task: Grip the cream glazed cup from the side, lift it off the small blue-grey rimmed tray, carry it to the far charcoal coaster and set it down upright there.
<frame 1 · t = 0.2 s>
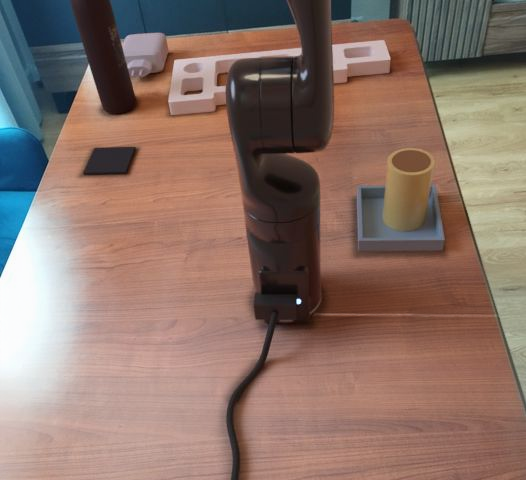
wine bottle: (120, 106, 121), on the table
cup: (403, 217, 90), point 1 cm above the table, touching tray
charger: (144, 71, 130), on the table
holder: (281, 83, 121), on the table
tray: (397, 224, 90), on the table
coaster: (110, 161, 108), on the table
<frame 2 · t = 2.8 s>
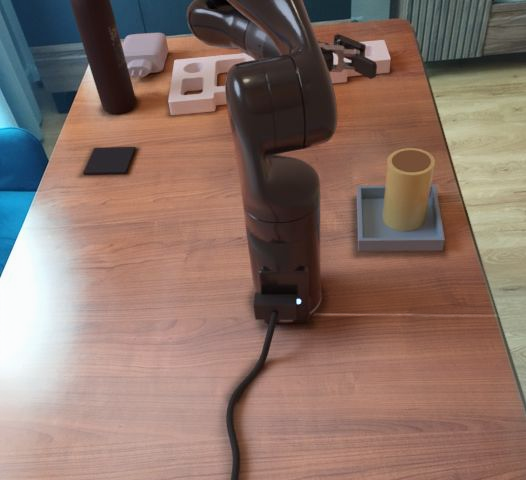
hand: (353, 83, 83), 18 cm above the table, tool horizontal, fingers open, 8 cm apart
nothing on the table moved.
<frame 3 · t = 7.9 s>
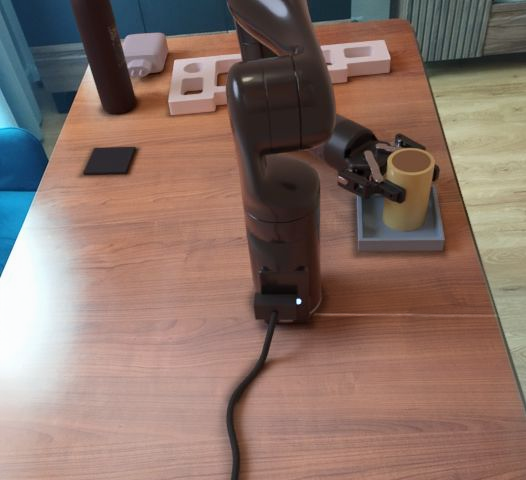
hand: (420, 186, 84), 8 cm above the table, tool horizontal, fingers closed on cup, 6 cm apart
cup: (403, 217, 90), point 1 cm above the table, touching gripper, tray
everything else where it was.
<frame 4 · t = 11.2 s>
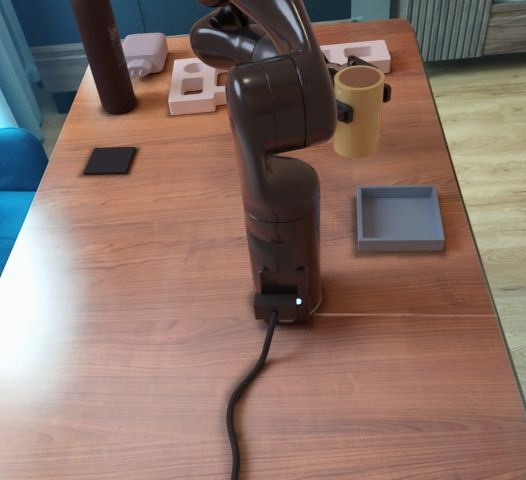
hand: (370, 105, 78), 18 cm above the table, tool horizontal, fingers closed on cup, 6 cm apart
cup: (356, 145, 85), point 12 cm above the table, touching gripper
everything else where it was.
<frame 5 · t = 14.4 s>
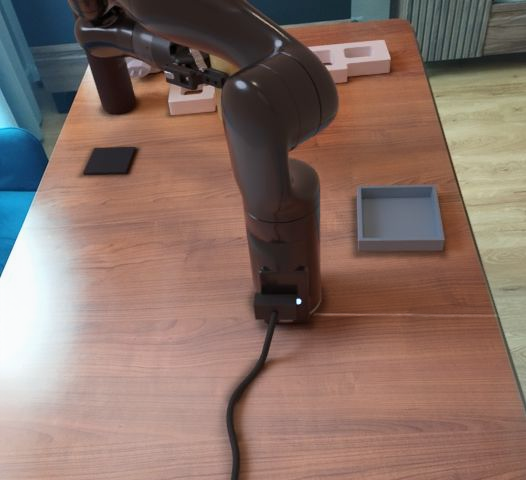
hand: (245, 71, 84), 20 cm above the table, tool horizontal, fingers closed on cup, 6 cm apart
cup: (239, 113, 90), point 13 cm above the table, touching gripper
everything else where it was.
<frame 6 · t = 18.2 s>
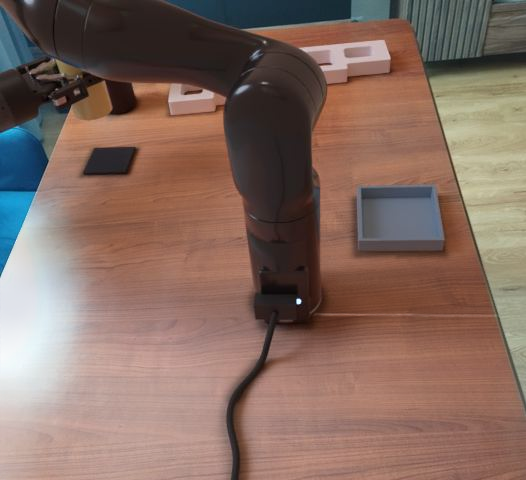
hand: (92, 65, 96), 17 cm above the table, tool horizontal, fingers closed on cup, 6 cm apart
cup: (93, 110, 100), point 10 cm above the table, touching gripper
everything else where it was.
when the fingers open (7 cm above the table, at t = 21.4 s): cup stays where it is, resting on coaster.
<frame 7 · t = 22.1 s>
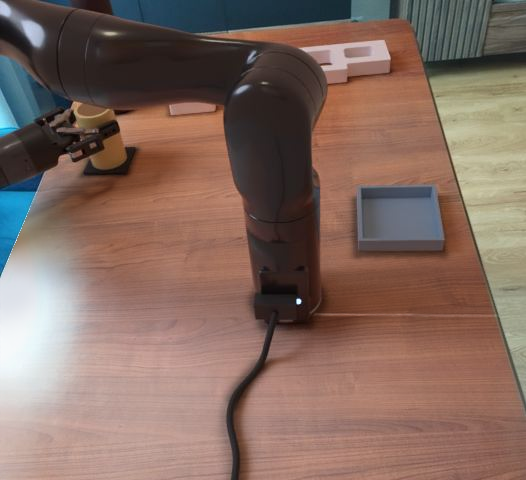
hand: (105, 116, 102), 8 cm above the table, tool horizontal, fingers open, 8 cm apart
cup: (109, 159, 108), resting on coaster
everything else where it was.
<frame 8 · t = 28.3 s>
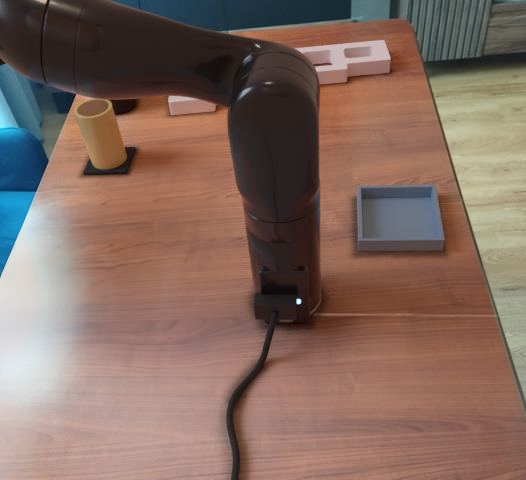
nothing on the table moved.
at the end: cup 0.0 cm off-centre on the coaster, point 0.5 cm above the coaster's base; cup tilted 0°; cup touching coaster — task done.
